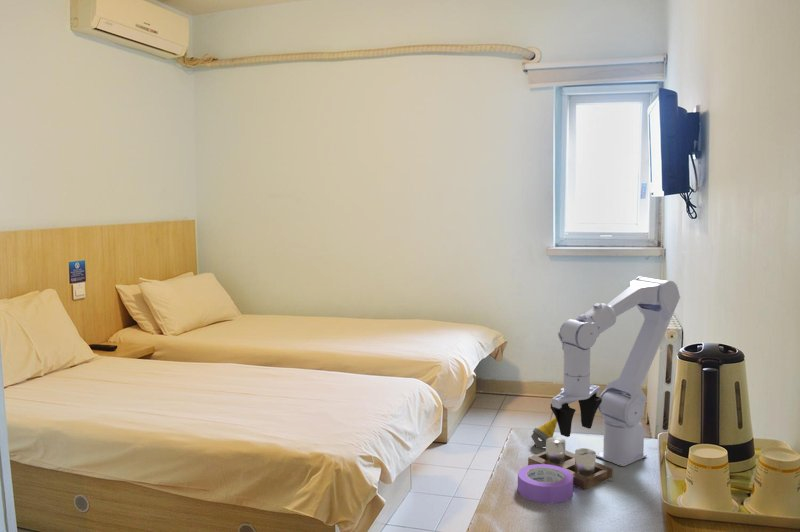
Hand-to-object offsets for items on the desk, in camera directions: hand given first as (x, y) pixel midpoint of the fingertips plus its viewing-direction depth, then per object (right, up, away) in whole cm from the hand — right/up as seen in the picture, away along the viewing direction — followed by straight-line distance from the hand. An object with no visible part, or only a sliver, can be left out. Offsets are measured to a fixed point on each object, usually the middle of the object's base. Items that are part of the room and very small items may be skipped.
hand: (576, 431), depth 160 cm
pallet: (-1, -9, +1) cm, 10 cm away
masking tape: (-9, -11, -8) cm, 16 cm away
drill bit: (-4, -7, +17) cm, 19 cm away
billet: (+1, -10, -2) cm, 10 cm away
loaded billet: (-4, -9, +4) cm, 11 cm away
